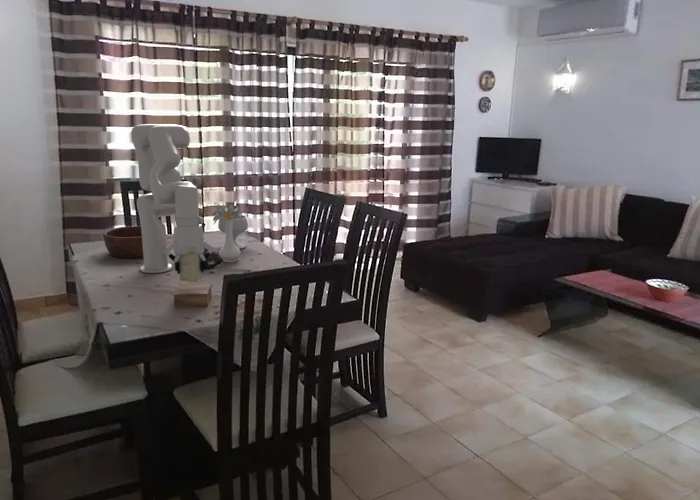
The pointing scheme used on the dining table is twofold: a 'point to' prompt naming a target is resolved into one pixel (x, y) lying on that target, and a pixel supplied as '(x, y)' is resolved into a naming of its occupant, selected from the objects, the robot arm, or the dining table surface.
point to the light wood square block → (192, 295)
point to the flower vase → (228, 231)
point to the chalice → (235, 229)
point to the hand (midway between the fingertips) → (190, 271)
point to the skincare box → (190, 266)
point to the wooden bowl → (124, 242)
